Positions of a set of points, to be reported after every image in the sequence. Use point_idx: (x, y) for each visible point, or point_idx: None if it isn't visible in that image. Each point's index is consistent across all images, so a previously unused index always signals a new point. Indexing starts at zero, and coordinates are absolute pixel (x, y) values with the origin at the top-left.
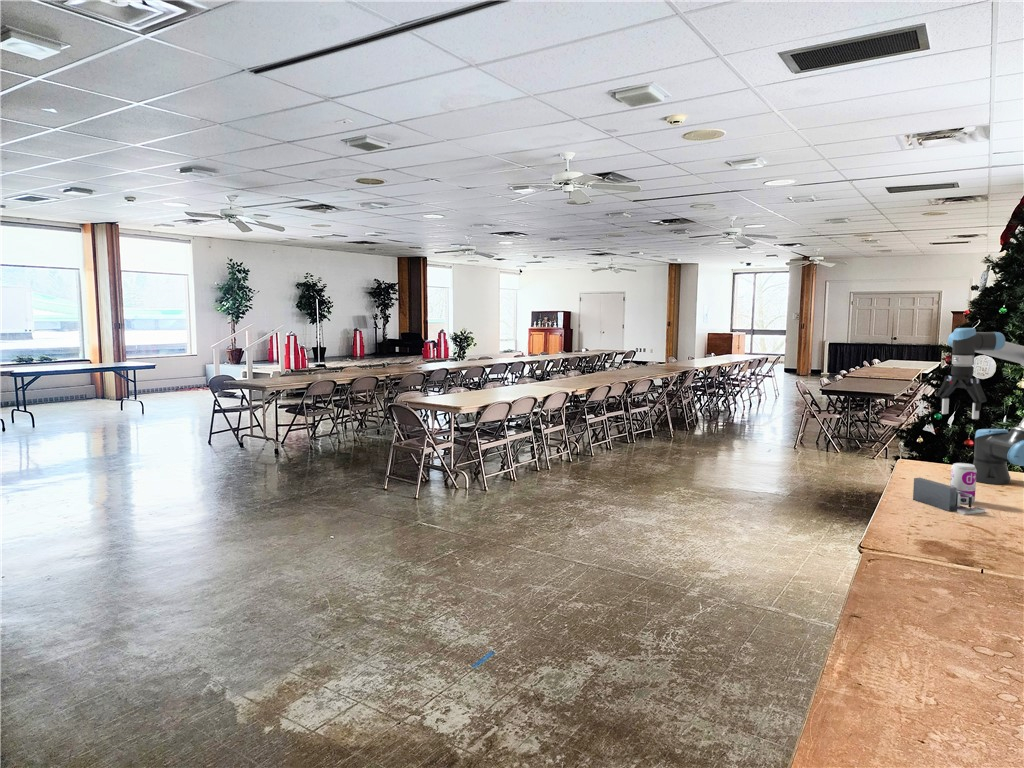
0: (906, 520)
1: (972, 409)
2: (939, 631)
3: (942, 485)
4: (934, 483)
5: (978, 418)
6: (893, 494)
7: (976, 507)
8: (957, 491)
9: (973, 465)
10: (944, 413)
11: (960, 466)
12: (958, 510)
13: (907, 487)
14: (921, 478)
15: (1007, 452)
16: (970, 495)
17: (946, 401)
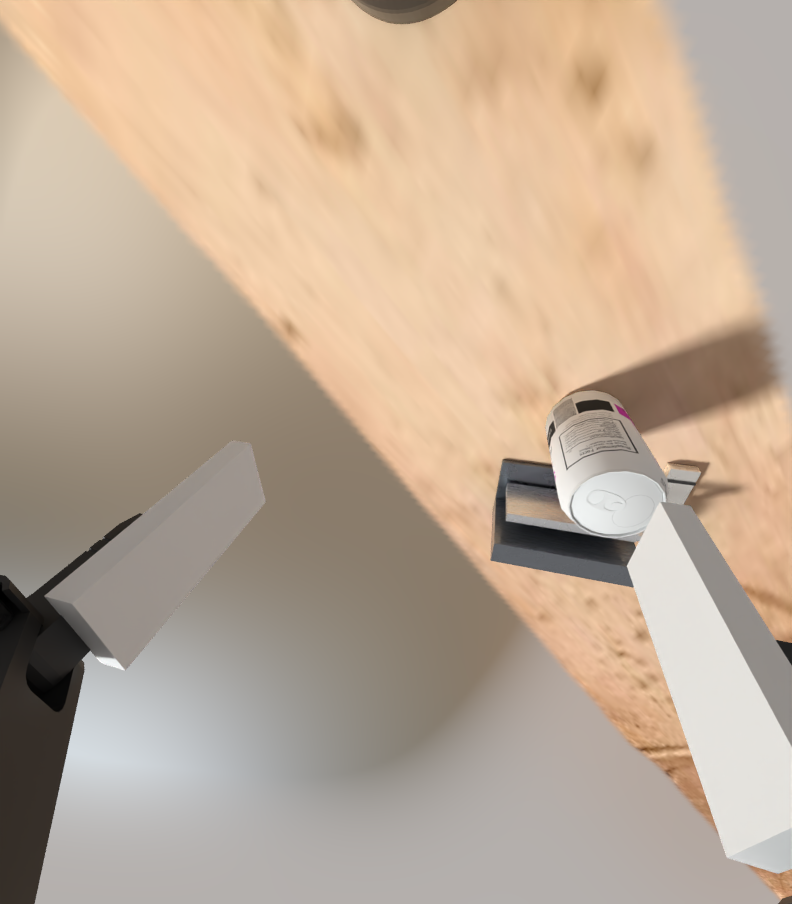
0: (591, 635)
1: (674, 695)
2: None
3: (598, 575)
4: (568, 571)
5: (690, 511)
6: (432, 506)
7: (672, 481)
8: (633, 541)
9: (648, 477)
10: (258, 492)
11: (618, 536)
12: (642, 531)
13: (388, 417)
14: (505, 550)
15: None
16: None
17: (141, 597)
